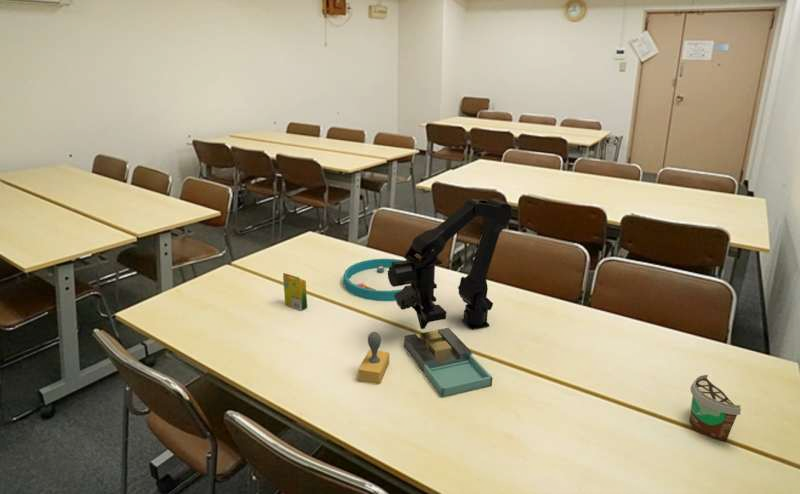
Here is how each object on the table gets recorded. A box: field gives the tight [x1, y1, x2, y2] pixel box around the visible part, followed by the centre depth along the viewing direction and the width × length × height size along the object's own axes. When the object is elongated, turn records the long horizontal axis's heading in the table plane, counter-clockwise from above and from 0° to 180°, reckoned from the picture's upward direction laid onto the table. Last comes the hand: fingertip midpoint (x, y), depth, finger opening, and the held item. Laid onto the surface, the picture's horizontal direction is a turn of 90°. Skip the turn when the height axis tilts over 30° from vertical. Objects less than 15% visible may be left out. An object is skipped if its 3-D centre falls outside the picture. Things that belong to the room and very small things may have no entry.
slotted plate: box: [403, 327, 473, 374], centre depth 146 cm, size 14×14×4 cm
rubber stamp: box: [357, 331, 390, 385], centre depth 136 cm, size 10×6×12 cm, turn 167°
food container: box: [688, 374, 742, 441], centre depth 119 cm, size 12×6×10 cm, turn 5°
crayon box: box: [282, 272, 308, 312], centre depth 170 cm, size 7×3×12 cm, turn 58°
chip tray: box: [423, 355, 493, 399], centre depth 135 cm, size 14×11×2 cm
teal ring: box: [343, 258, 411, 302], centre depth 190 cm, size 30×30×6 cm
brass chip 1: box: [419, 330, 442, 346], centre depth 149 cm, size 5×4×2 cm
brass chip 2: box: [429, 341, 452, 357], centre depth 144 cm, size 5×4×2 cm
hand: (422, 328), depth 154 cm, fingers closed
